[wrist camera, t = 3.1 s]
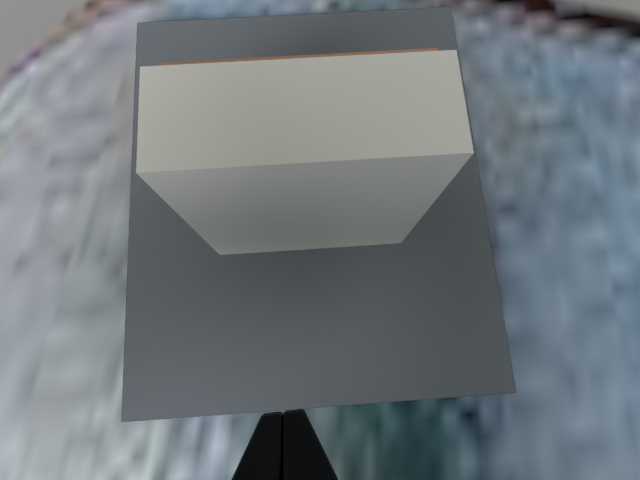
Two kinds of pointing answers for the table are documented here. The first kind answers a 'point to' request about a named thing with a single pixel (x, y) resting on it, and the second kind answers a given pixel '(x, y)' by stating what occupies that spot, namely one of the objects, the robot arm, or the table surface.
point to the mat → (308, 270)
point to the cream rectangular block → (303, 145)
